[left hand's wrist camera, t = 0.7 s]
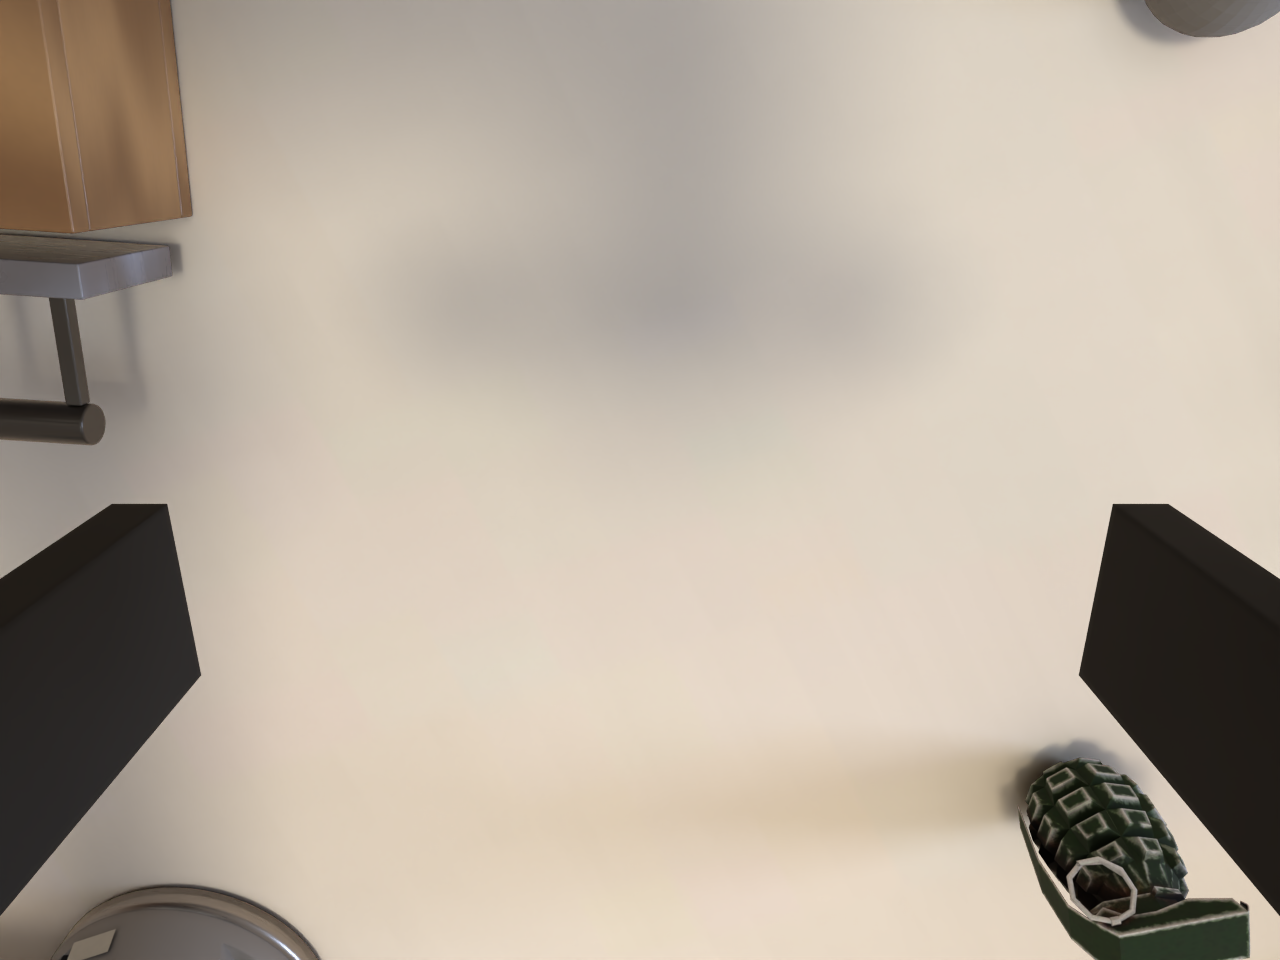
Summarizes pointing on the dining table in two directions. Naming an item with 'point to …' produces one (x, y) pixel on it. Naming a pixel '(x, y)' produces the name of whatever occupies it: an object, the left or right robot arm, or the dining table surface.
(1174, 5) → the molecular model
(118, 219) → the brown wooden box
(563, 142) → the dining table surface
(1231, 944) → the grenade
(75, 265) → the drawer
